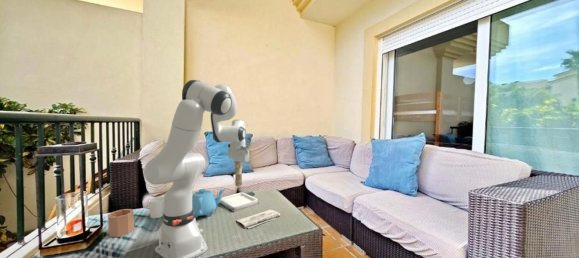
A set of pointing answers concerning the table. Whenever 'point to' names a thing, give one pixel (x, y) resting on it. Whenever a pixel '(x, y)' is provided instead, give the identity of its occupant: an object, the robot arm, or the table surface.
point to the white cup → (156, 207)
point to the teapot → (205, 202)
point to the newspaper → (259, 218)
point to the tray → (238, 201)
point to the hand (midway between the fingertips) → (238, 167)
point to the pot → (120, 222)
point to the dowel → (238, 174)
